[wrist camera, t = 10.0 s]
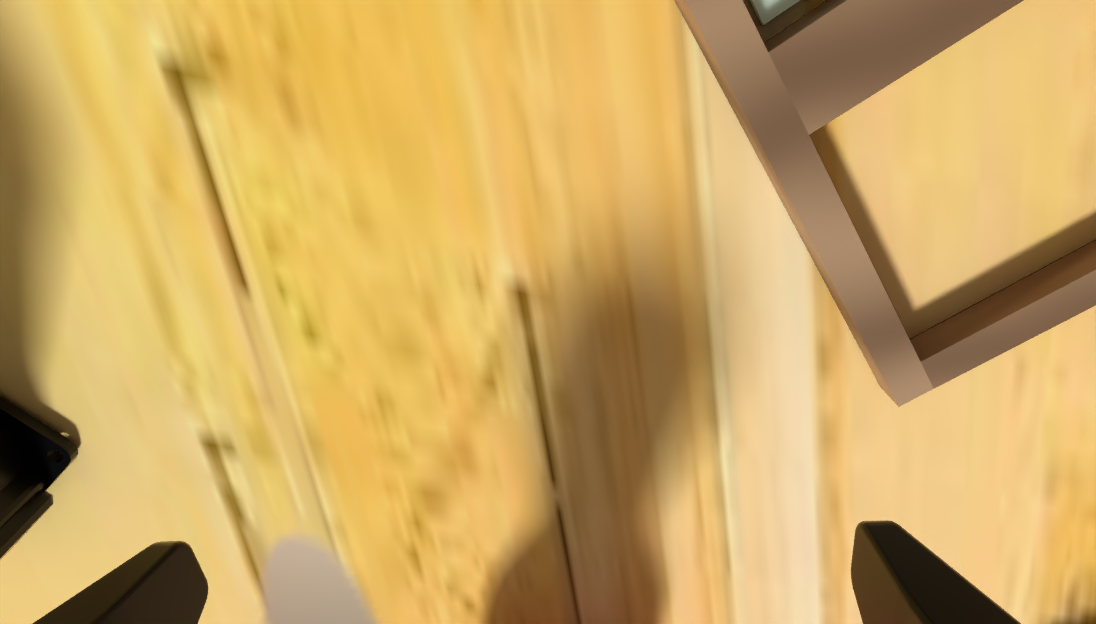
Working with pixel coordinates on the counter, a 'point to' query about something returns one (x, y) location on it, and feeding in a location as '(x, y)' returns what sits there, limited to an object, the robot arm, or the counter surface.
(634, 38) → the counter surface
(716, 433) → the counter surface
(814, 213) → the brown wooden frame
